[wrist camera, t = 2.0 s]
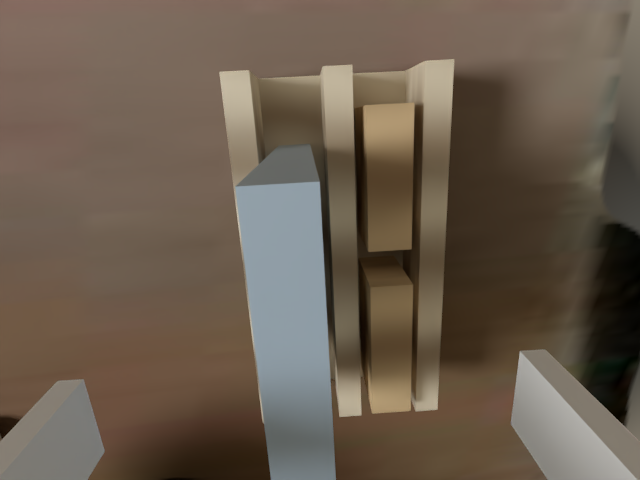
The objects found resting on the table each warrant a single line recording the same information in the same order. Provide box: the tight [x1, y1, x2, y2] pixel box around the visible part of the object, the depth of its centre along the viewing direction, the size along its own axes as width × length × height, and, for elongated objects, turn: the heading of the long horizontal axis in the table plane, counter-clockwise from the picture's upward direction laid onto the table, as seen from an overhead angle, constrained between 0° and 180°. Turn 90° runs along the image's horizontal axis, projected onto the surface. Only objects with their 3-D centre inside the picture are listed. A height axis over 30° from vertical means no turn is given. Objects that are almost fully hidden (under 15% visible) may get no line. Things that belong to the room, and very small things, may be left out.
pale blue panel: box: [235, 144, 336, 480], centre depth 19 cm, size 14×2×16 cm, turn 3°
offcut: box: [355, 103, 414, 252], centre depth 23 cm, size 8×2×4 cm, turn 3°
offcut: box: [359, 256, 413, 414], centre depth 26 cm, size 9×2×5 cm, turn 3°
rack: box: [219, 59, 454, 423], centre depth 25 cm, size 22×12×6 cm, turn 3°
